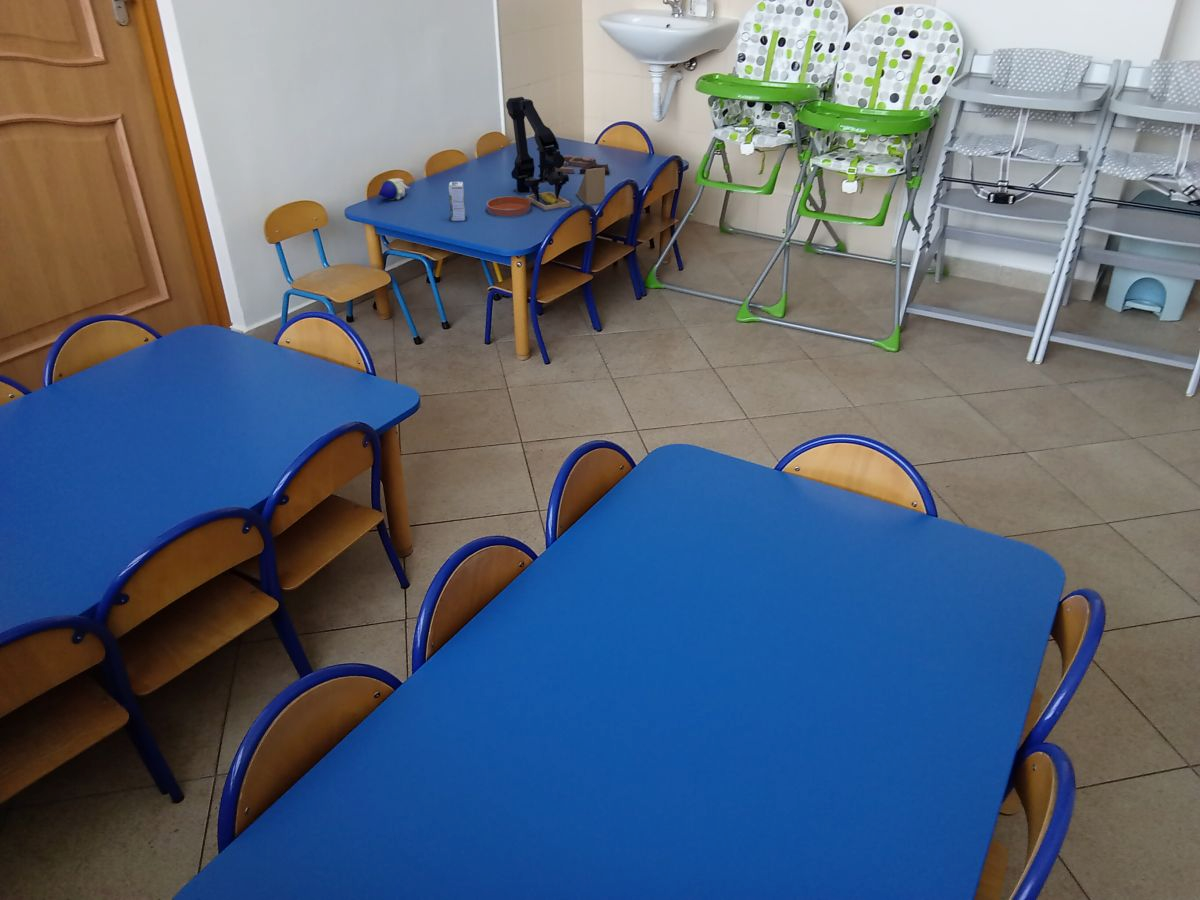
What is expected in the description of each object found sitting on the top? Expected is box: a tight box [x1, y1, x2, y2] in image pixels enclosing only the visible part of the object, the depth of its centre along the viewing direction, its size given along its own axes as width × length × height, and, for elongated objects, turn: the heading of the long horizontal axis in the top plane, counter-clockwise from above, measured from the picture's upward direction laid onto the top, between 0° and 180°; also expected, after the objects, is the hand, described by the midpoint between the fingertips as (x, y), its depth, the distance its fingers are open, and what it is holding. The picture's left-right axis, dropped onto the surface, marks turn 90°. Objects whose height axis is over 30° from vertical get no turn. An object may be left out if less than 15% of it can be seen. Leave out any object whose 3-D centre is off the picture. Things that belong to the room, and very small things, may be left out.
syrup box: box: [448, 181, 466, 222], centre depth 363 cm, size 6×6×14 cm
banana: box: [540, 192, 558, 205], centre depth 383 cm, size 12×4×3 cm, turn 31°
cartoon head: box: [378, 177, 411, 201], centre depth 388 cm, size 9×10×20 cm
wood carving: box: [555, 154, 610, 176], centre depth 431 cm, size 28×2×24 cm
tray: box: [525, 191, 571, 211], centre depth 383 cm, size 18×12×2 cm
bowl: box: [486, 195, 532, 217], centre depth 375 cm, size 18×18×3 cm
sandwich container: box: [576, 168, 606, 205], centre depth 385 cm, size 9×15×15 cm, turn 18°
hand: (547, 199), depth 383 cm, fingers open, 9 cm apart
